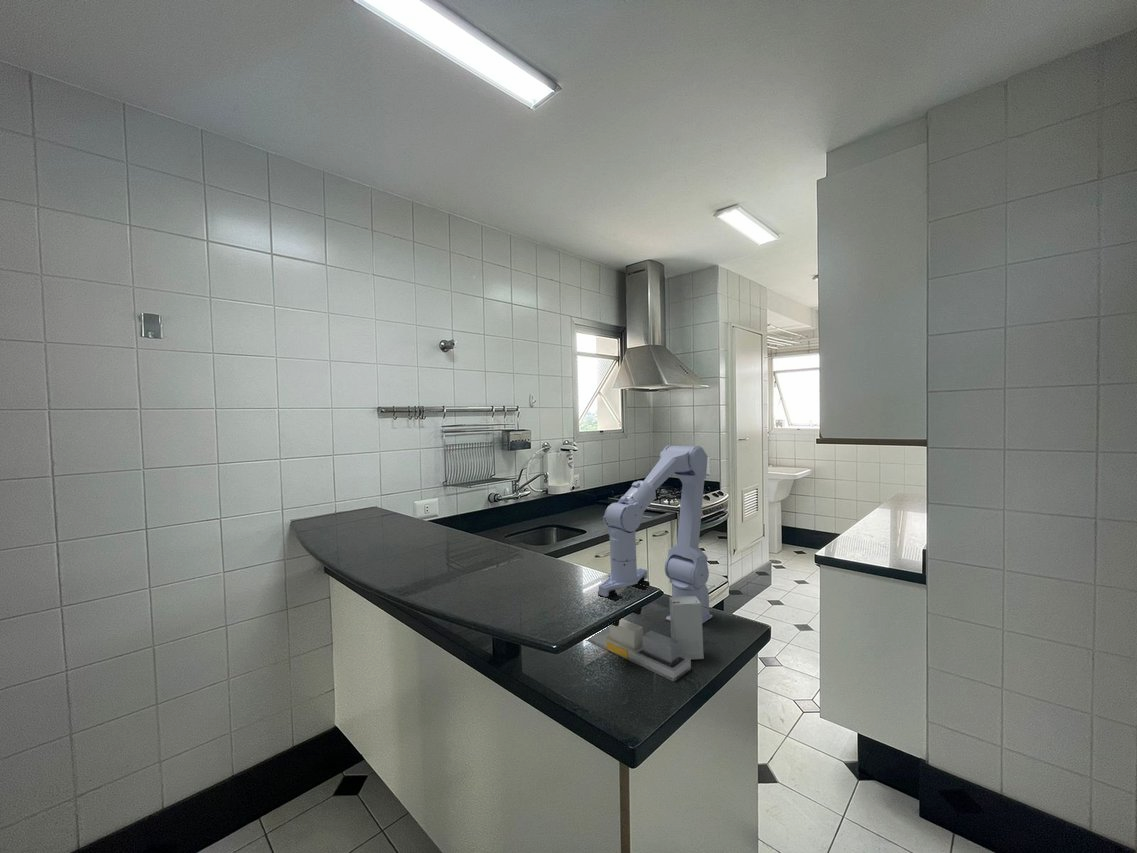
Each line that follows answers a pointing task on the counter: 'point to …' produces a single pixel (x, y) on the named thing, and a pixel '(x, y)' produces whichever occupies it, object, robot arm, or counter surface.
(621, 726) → the counter surface
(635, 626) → the tall white prism
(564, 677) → the counter surface
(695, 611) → the skincare box
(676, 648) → the tray
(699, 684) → the counter surface
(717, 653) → the counter surface
